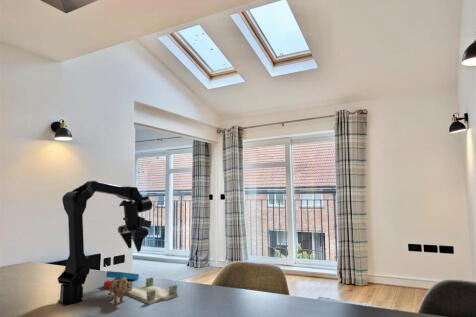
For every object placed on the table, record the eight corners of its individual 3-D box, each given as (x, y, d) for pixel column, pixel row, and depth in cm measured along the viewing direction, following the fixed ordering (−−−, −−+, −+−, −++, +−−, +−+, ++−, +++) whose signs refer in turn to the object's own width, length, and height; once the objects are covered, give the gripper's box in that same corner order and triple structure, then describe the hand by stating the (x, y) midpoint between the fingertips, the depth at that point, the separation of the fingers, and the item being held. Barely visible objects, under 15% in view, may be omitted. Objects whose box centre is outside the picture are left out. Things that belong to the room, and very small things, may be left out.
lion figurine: (132, 303, 113) (133, 277, 114) (117, 307, 109) (118, 280, 110) (114, 294, 123) (115, 270, 124) (100, 297, 120) (102, 273, 121)
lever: (123, 289, 147) (97, 288, 131) (126, 273, 150) (101, 270, 134) (136, 290, 145) (111, 289, 129) (139, 274, 148) (115, 271, 132)
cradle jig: (149, 304, 112) (149, 292, 113) (123, 293, 125) (123, 282, 126) (177, 296, 121) (177, 285, 122) (150, 286, 134) (150, 277, 135)
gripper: (158, 213, 140) (161, 248, 140) (139, 210, 153) (141, 242, 153) (133, 218, 132) (137, 255, 132) (116, 214, 146) (119, 248, 146)
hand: (134, 249), depth 141 cm, fingers open, 9 cm apart
